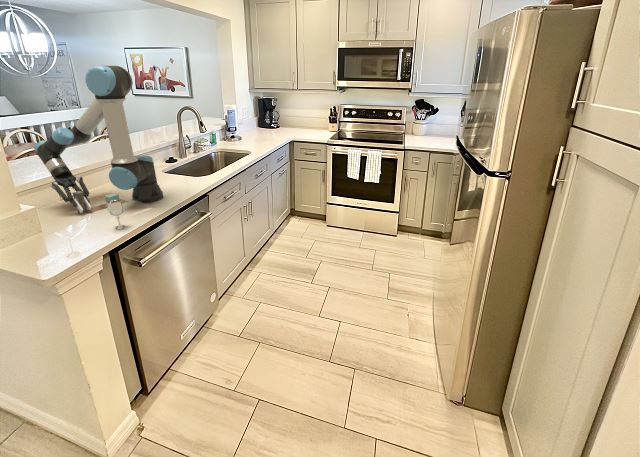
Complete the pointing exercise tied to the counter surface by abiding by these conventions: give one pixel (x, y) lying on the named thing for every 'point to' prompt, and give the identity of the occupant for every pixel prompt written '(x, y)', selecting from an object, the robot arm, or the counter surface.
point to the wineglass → (116, 210)
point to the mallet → (81, 201)
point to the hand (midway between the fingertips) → (86, 210)
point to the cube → (111, 197)
